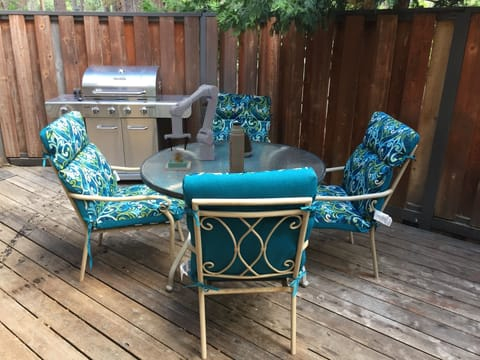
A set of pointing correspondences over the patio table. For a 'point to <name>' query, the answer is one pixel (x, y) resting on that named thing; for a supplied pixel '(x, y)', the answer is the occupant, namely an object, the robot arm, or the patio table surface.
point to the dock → (178, 165)
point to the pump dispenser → (247, 145)
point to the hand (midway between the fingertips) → (178, 150)
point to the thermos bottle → (236, 148)
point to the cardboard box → (178, 157)
